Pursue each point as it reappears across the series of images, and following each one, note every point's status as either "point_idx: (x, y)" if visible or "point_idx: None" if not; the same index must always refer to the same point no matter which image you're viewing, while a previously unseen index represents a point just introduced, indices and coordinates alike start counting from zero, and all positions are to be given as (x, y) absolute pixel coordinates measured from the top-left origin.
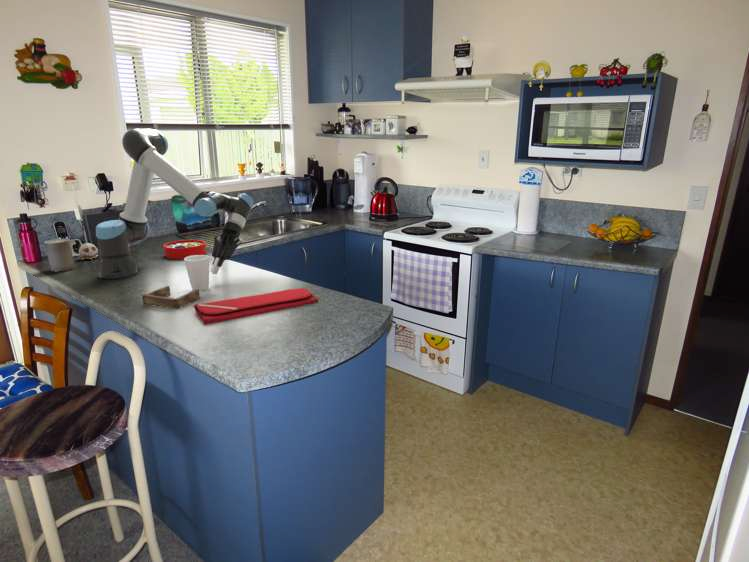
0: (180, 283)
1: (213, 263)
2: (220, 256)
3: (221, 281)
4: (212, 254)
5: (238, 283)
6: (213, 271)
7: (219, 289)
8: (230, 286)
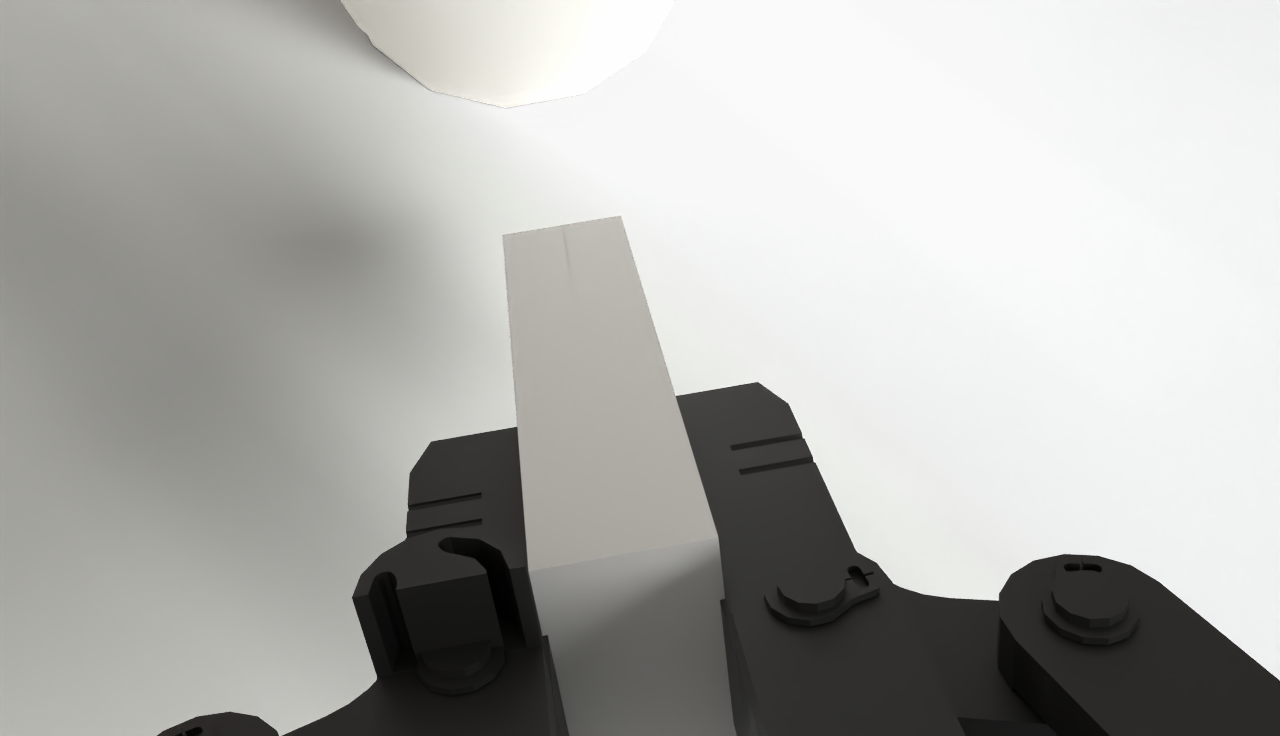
0: (1258, 12)
1: (736, 418)
2: (395, 563)
3: None
4: (1107, 586)
5: (3, 685)
6: (507, 253)
7: (117, 125)
8: (30, 400)
